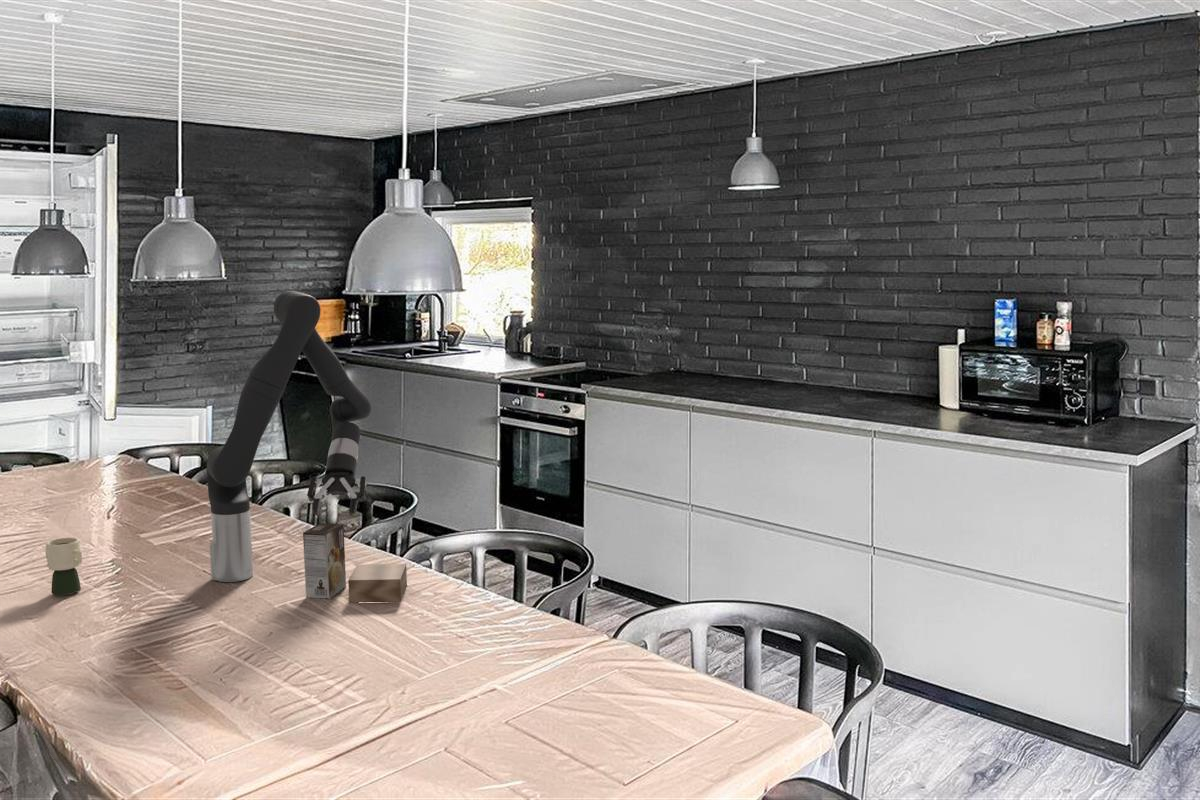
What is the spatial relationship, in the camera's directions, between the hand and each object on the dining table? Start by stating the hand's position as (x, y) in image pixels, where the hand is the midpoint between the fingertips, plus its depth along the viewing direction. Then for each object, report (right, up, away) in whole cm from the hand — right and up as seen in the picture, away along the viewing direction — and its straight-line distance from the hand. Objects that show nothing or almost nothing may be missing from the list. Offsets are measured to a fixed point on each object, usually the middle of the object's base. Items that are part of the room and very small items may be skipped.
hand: (333, 514), depth 259 cm
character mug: (-62, -18, -9) cm, 65 cm away
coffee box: (0, -18, -8) cm, 20 cm away
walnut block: (+13, -18, -10) cm, 25 cm away
